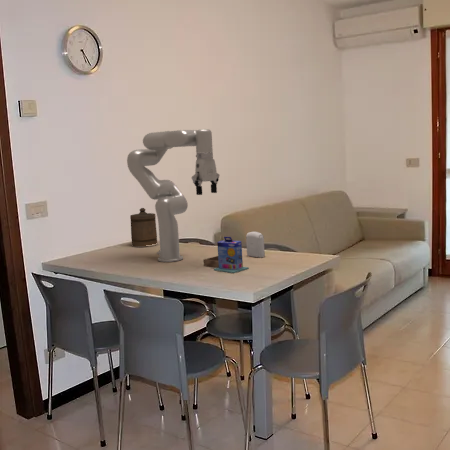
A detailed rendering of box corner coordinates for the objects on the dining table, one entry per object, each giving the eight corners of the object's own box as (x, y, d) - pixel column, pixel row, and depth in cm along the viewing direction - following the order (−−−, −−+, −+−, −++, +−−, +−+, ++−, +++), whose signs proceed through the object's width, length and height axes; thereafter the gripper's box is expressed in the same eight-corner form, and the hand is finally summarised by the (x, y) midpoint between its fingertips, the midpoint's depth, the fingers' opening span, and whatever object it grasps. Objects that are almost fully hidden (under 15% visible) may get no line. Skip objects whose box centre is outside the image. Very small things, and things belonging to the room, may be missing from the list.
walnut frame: (203, 265, 259) (203, 259, 259) (224, 260, 270) (224, 254, 269) (220, 268, 252) (220, 261, 252) (241, 262, 263) (241, 256, 262)
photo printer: (245, 255, 278) (244, 231, 277) (252, 254, 281) (250, 230, 279) (259, 258, 270) (258, 233, 269) (266, 256, 273) (265, 232, 271)
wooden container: (160, 242, 333) (157, 206, 331) (153, 247, 319) (151, 209, 316) (136, 243, 335) (133, 207, 333) (128, 247, 321) (125, 210, 318)
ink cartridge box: (217, 268, 248) (216, 236, 246) (224, 266, 253) (222, 234, 251) (237, 270, 243) (235, 237, 241) (243, 267, 248) (241, 235, 246)
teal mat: (213, 270, 249) (213, 268, 248) (228, 266, 256) (228, 264, 256) (233, 273, 240) (233, 271, 240) (248, 268, 248) (248, 267, 248)
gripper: (197, 157, 247) (199, 195, 249) (223, 155, 259) (225, 192, 261) (185, 157, 252) (187, 195, 254) (211, 156, 264) (213, 192, 267)
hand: (206, 193), depth 258 cm, fingers open, 9 cm apart
